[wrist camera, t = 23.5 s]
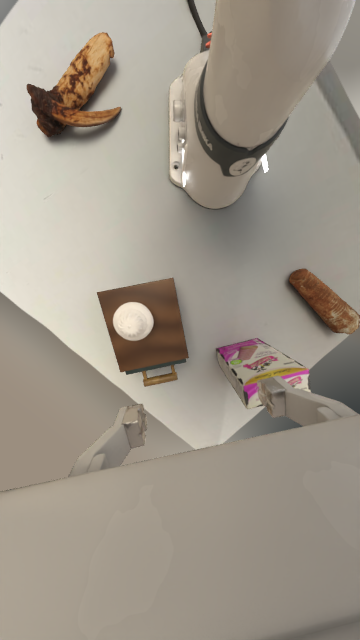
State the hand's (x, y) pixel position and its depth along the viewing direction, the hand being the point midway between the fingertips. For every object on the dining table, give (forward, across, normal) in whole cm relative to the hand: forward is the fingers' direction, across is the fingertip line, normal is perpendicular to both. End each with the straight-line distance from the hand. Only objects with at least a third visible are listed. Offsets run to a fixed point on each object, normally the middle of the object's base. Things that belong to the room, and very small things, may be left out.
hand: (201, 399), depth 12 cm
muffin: (+20, +7, -3) cm, 21 cm away
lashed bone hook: (+30, +9, -41) cm, 52 cm away
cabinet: (+29, +6, -1) cm, 30 cm away
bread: (+29, -33, +2) cm, 45 cm away
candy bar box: (+29, -14, +12) cm, 34 cm away
